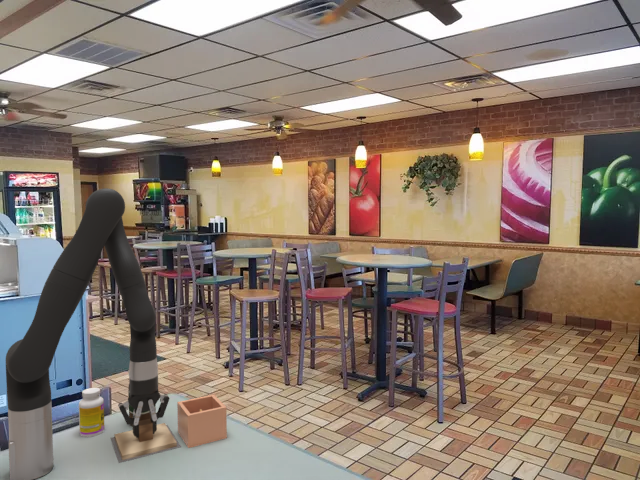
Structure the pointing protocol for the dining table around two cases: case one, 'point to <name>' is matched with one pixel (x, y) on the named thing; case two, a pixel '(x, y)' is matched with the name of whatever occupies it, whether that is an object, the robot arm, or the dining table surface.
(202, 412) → the terracotta square planter
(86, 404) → the supplement bottle
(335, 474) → the dining table surface
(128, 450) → the lid
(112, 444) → the mat
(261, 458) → the dining table surface
